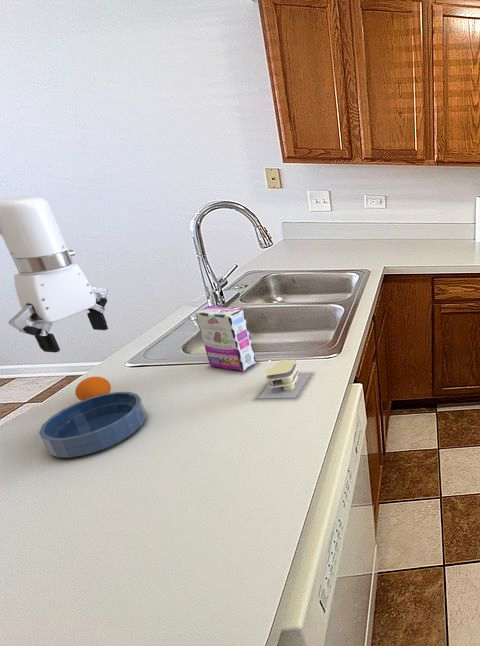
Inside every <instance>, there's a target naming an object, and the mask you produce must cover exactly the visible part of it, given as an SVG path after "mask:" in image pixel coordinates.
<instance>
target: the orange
mask: <svg viewBox="0 0 480 646" xmlns="http://www.w3.org/2000/svg"><path fill="white" fill-rule="evenodd" d="M111 389H112V387H111V383H110V381H109V380H108V379H106V378H104V377H102V376H89V377H87V378H85V379H83V380H81V381H80V382H79V383H78V384H77V385H76V387H75V389H74V390H75V391H74V393H75V397H76V398H77V399H78V400H79V401H83V400H86V399H88V398H91V397H95V396H99V395H103V394H107V393H111Z"/></svg>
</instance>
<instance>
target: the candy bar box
mask: <svg viewBox="0 0 480 646" xmlns="http://www.w3.org/2000/svg"><path fill="white" fill-rule="evenodd" d="M194 315H195V318H196V321H197V325H198V328H199V333H200V335H201V340H202V342H203V345H204V349H205V353H206V356H207V359H208V360H207V361H208V362H209V366H210V367H211V368H216V369H224V370H231V371H237V372H245V371H247V370H248V369H250V368H251V367H253V366H255V365H256V364H257V360H256V356H255V353H254V348H253V344H252V339H251V336H250V331H249V327H248V324H247V319H246V314H245V310H244V309H242V308H232V307H222V306H214V305H213V306H212V305H208V306H206V307H204V308H202V309H200V310H198V311H195V312H194Z"/></svg>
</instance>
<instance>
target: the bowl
mask: <svg viewBox="0 0 480 646" xmlns="http://www.w3.org/2000/svg"><path fill="white" fill-rule="evenodd" d="M146 420H147V411H146V409H145V406H144V403H143V401H142V398H141V397H140V396H139V395H138V394H137V393H136V392H133V391H132V392H131V391H115V392H110V393H107V394H103V395H99V396H95V397H91V398H88V399H86V400H83V401H81V400H79V401H78V402H75V403H73V404H71V405H69V406H67V407H65V408H62V409H61V410H60V411H58V412H57V413H55V414H53V415H52V416H50V417H49V418H48V419H47V420H46V421H45V422H44V423H43V424H42V425H41V427H40V429H39V431H38V434H39V436H40V438H41V440H42V442H43V445H44V446H45V448H46V451H48V453H49V455H51V456H53V457H56V458H75V457H80V456H88V455H91V454H94V453H97V452H100V451H103V450H106V449H108V448H110V447H112V446H114V445H116V444H118V443H120V442H122V441H123V440H126V439H127V438H128V437H129V436H131V435H132V434H133V433H135V432H136V431H137V430H138V429H140V428H141V427H142V425H143V424H144V423H145V421H146Z"/></svg>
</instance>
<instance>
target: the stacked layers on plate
mask: <svg viewBox="0 0 480 646" xmlns="http://www.w3.org/2000/svg"><path fill="white" fill-rule="evenodd" d="M296 362H297V359H280V360H279V361H277V362H276V363H275V364H273V365H272V366H270V367H269V368H268V369H266V370H265V372H264V373H265V375H266V377H265V378H266V379H267V380H268V383H267V386H266V387H265V389H264V390H263V391H262V392H261V394H260V395H259V396H258V399H289V398H290V399H292V398H293V399H294V398H295V399H296V398H297V396H298V395H299V394H300V392H301V390H302V388H303V387H304V385H305V384H306V382H307V381H308V380H309V378H310V376H311V373H309V374H306V373H304V374H303V373H302V374H299V370H297V367H298V364H297V363H296Z"/></svg>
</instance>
